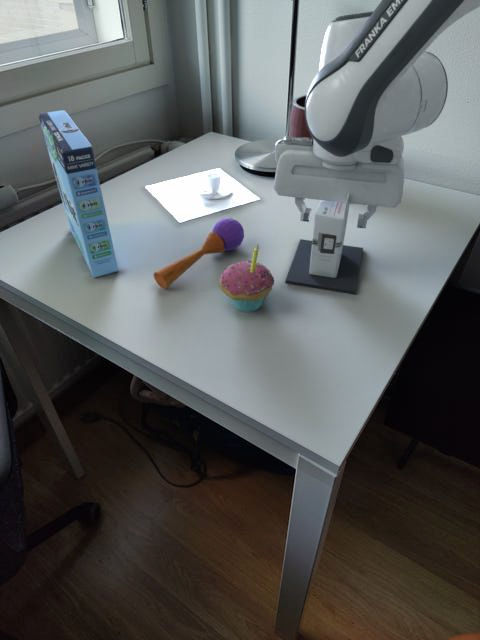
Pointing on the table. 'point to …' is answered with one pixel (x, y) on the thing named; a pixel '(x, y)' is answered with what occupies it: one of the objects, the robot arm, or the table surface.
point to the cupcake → (247, 283)
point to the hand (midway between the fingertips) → (333, 223)
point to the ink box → (328, 237)
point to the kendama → (204, 250)
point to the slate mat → (341, 283)
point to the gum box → (80, 190)
